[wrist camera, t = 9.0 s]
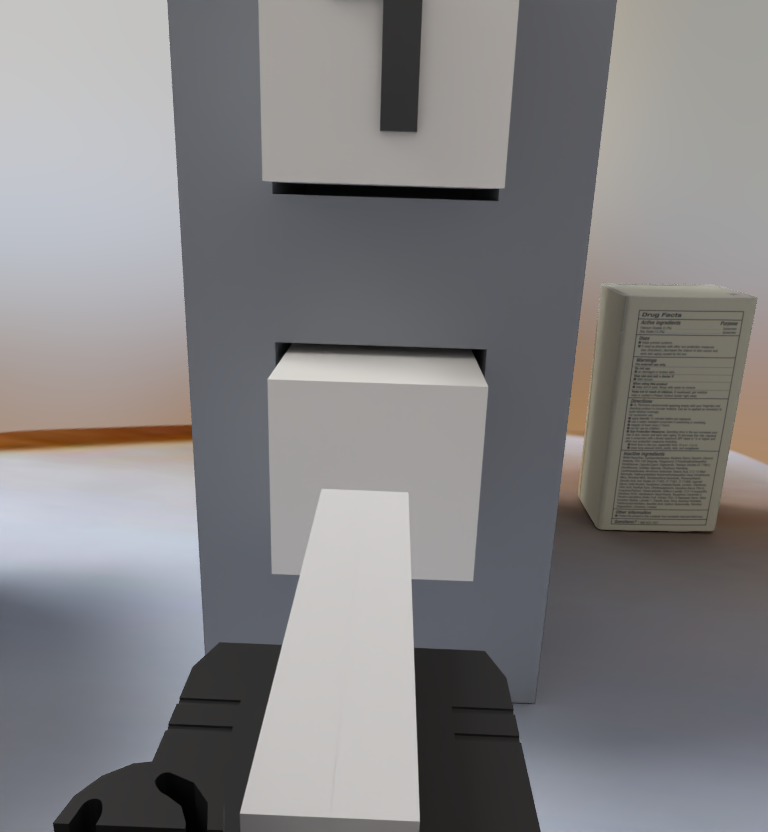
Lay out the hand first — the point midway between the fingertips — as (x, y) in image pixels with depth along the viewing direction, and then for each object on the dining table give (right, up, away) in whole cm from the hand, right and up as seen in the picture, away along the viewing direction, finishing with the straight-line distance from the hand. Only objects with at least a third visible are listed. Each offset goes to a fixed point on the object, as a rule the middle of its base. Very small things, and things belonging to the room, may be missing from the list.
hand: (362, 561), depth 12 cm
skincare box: (+14, -3, +25) cm, 29 cm away
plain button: (0, -1, +9) cm, 9 cm away
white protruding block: (0, +9, +6) cm, 11 cm away
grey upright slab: (0, -4, +20) cm, 20 cm away
